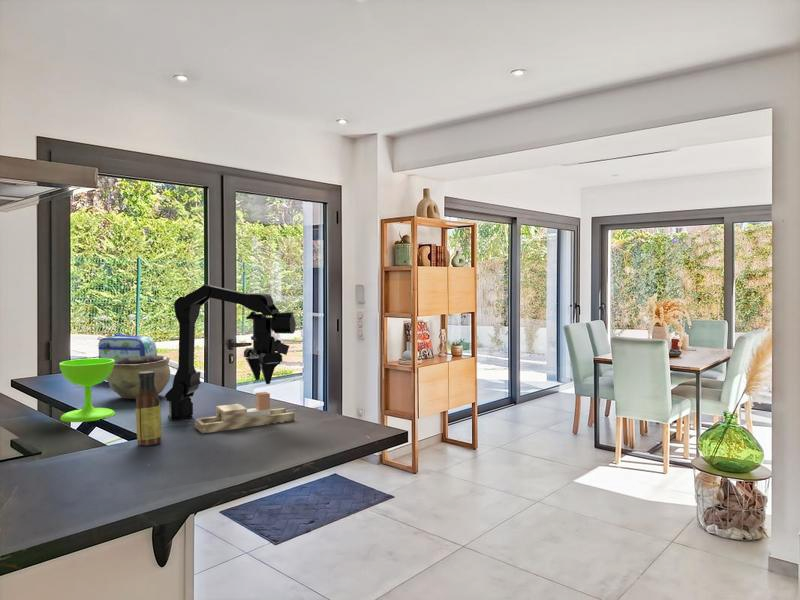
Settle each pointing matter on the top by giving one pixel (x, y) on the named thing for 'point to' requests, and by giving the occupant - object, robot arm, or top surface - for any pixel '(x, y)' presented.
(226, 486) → the top surface
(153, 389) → the sauce bottle
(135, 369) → the ceramic bowl
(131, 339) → the lunch box
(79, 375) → the wineglass
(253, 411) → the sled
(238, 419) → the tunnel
